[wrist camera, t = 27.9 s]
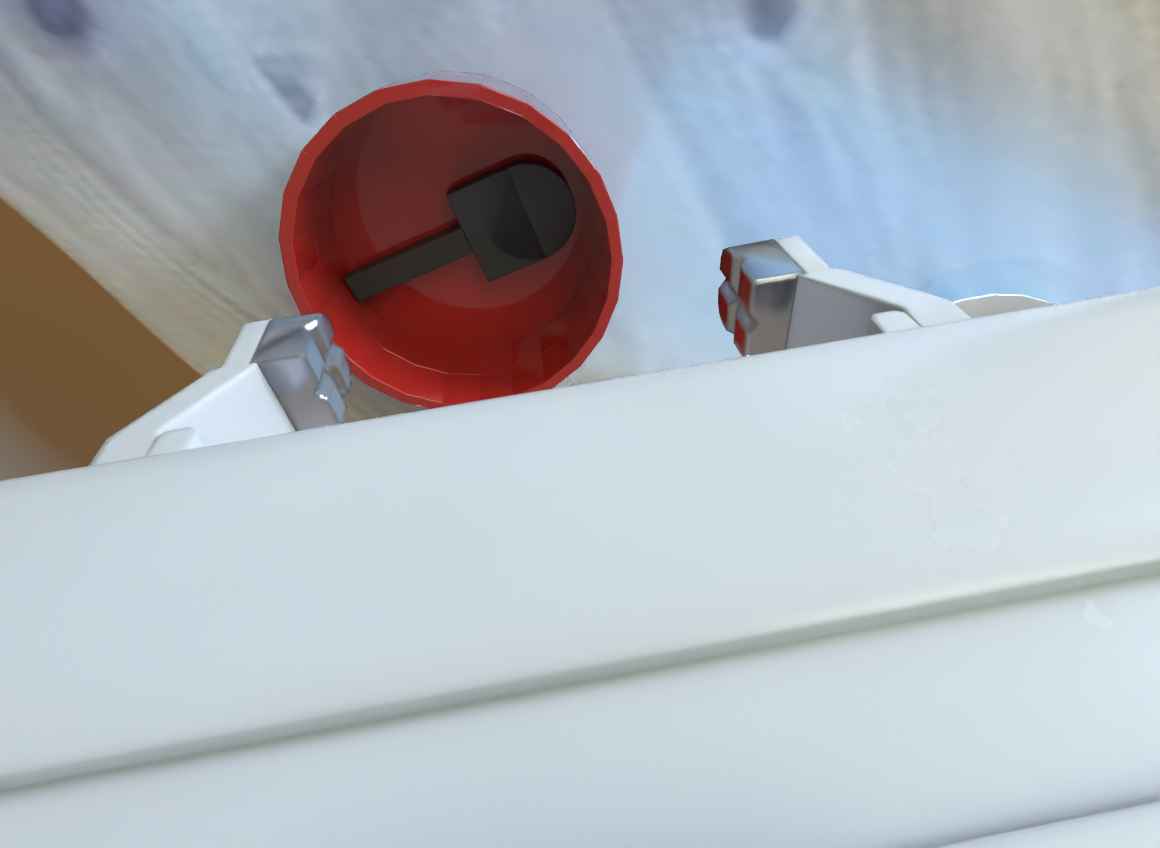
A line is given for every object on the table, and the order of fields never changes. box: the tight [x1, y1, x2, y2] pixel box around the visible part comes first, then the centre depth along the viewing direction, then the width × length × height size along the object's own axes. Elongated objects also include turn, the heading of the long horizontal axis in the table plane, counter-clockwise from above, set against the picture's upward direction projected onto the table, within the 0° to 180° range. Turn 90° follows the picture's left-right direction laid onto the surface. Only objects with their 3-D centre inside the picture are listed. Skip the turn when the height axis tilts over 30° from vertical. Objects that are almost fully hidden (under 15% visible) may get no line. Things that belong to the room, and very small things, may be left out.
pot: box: [279, 71, 623, 409], centre depth 43 cm, size 22×22×10 cm
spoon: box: [344, 158, 576, 302], centre depth 45 cm, size 18×7×2 cm, turn 111°
